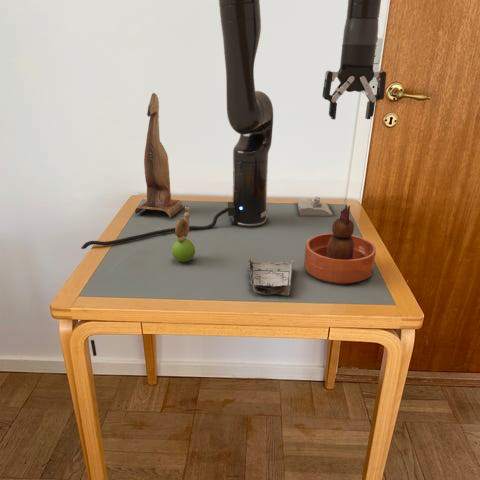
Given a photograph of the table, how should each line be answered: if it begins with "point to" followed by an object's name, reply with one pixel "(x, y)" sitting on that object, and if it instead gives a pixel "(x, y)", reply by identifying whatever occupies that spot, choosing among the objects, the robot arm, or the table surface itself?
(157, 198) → the bird sculpture
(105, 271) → the table surface
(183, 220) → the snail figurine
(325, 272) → the bowl
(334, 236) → the wooden figurine
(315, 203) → the grey stone carving
